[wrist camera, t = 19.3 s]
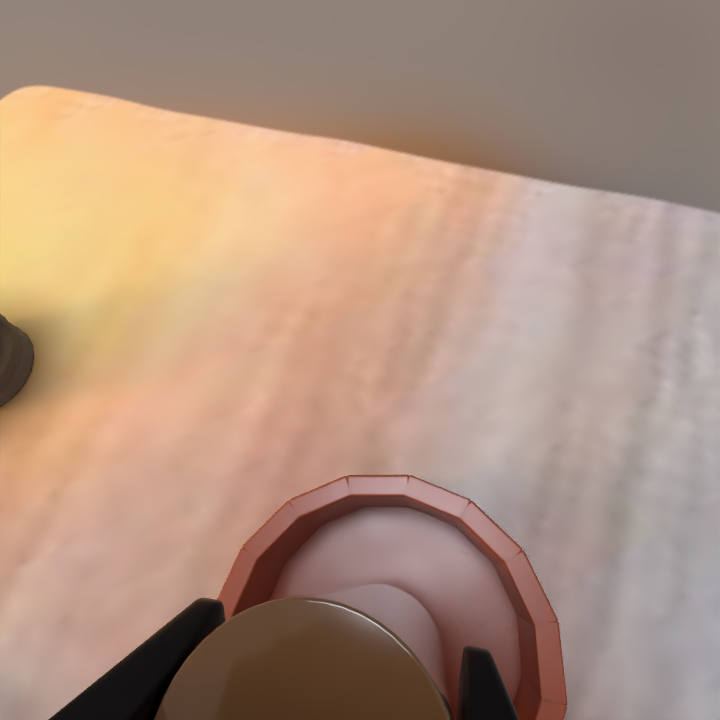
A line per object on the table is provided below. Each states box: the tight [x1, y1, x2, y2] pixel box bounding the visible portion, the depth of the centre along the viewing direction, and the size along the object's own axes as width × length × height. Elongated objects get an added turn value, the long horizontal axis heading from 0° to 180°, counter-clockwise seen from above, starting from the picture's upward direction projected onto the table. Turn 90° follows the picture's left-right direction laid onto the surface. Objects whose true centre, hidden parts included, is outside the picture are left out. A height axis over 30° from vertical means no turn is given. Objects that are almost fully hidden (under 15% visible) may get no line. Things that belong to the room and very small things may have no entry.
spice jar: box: [154, 584, 455, 720], centre depth 11 cm, size 4×4×10 cm
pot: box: [217, 475, 567, 720], centre depth 17 cm, size 10×10×4 cm
